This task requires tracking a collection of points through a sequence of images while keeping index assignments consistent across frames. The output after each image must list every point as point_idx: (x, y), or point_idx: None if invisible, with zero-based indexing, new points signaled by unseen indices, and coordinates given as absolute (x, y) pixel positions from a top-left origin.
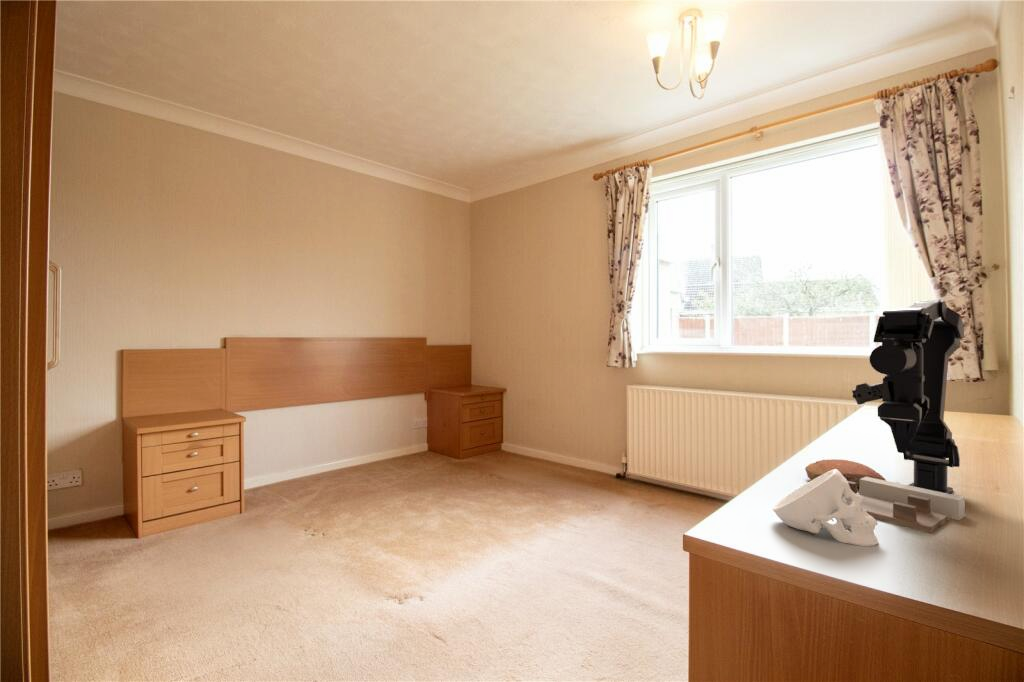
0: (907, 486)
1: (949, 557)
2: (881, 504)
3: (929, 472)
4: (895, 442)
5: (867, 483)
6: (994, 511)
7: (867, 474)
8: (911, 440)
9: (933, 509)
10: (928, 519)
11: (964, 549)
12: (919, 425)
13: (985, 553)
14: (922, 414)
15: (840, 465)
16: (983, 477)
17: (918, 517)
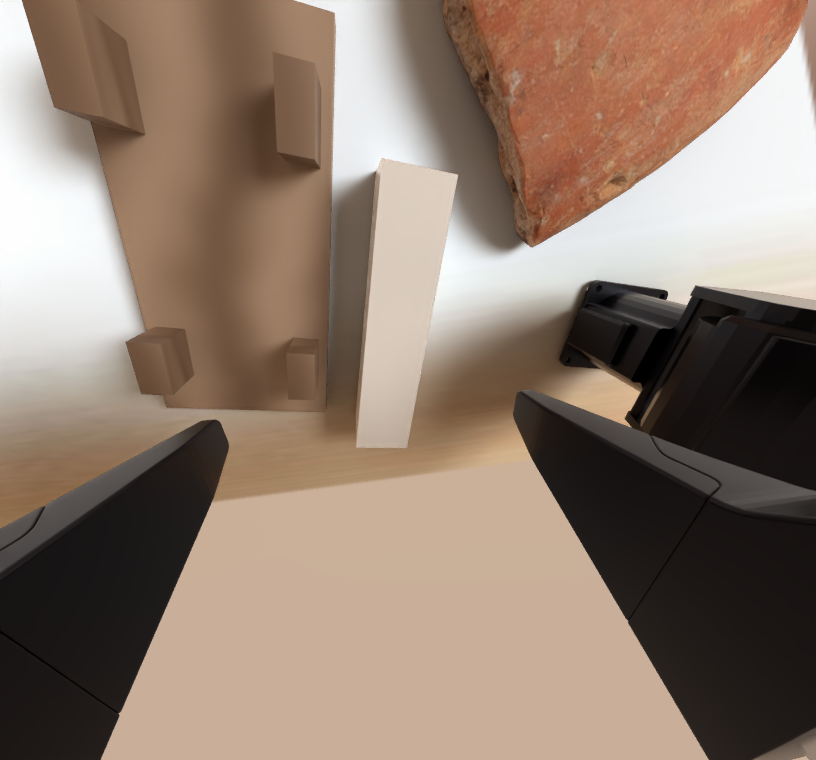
0: (410, 330)
1: (33, 451)
2: (266, 271)
3: (608, 357)
4: (125, 464)
5: (377, 198)
6: (487, 443)
7: (528, 166)
8: (522, 435)
9: (359, 379)
10: (236, 391)
11: (133, 456)
12: (594, 564)
13: None
14: (699, 709)
15: None
16: None
17: (230, 372)
